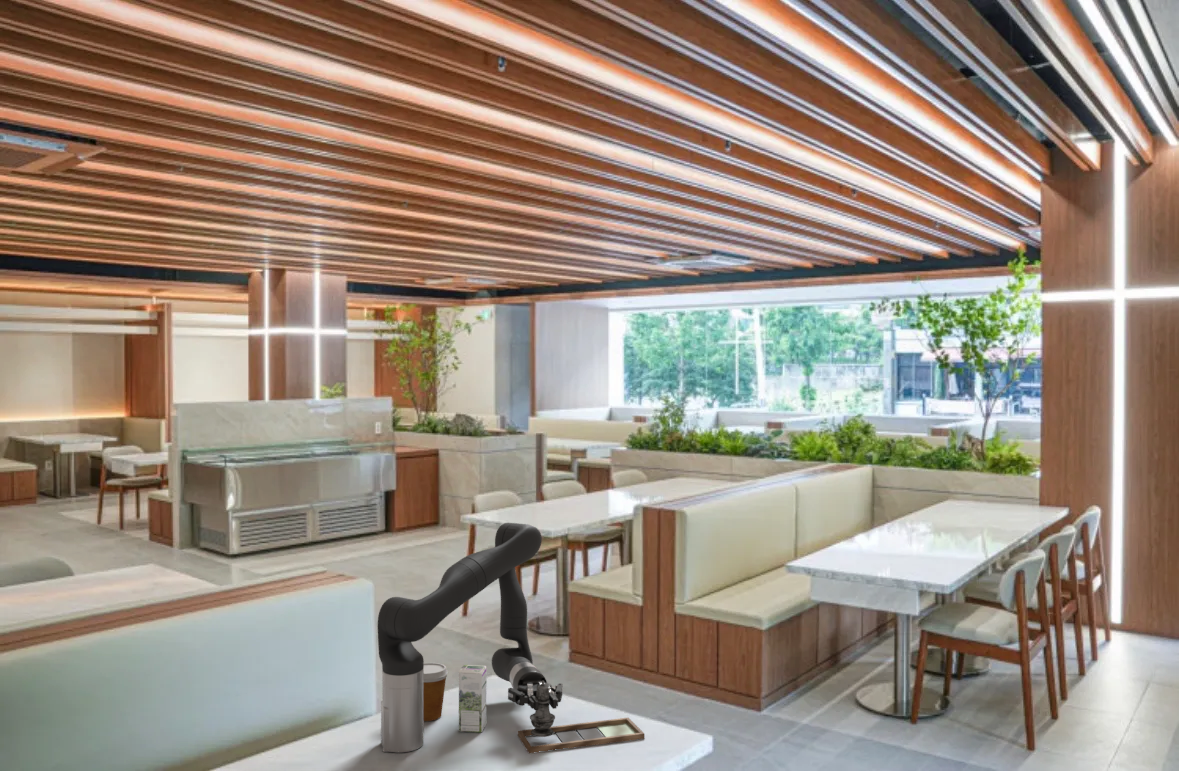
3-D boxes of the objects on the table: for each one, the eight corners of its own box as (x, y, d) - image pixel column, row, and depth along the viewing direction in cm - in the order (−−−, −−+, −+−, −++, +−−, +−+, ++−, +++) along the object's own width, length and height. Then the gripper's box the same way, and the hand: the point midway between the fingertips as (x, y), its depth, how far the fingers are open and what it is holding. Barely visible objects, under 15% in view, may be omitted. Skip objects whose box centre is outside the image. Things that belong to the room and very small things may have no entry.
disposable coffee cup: (444, 724, 216) (444, 674, 216) (404, 723, 216) (405, 674, 216) (451, 709, 226) (451, 662, 226) (413, 709, 226) (413, 661, 226)
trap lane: (528, 753, 199) (529, 748, 199) (517, 735, 209) (517, 730, 209) (644, 738, 207) (644, 733, 207) (628, 722, 217) (628, 717, 217)
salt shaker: (551, 738, 202) (552, 685, 202) (526, 736, 203) (527, 683, 203) (557, 729, 207) (558, 677, 207) (533, 726, 209) (534, 675, 209)
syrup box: (487, 724, 216) (487, 664, 216) (481, 733, 210) (481, 672, 210) (463, 723, 216) (464, 663, 217) (457, 732, 211) (458, 671, 211)
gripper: (499, 668, 216) (515, 691, 200) (555, 663, 221) (576, 685, 205) (498, 699, 216) (515, 724, 200) (555, 694, 221) (575, 718, 204)
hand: (546, 705), depth 202 cm, fingers closed on salt shaker, 3 cm apart
